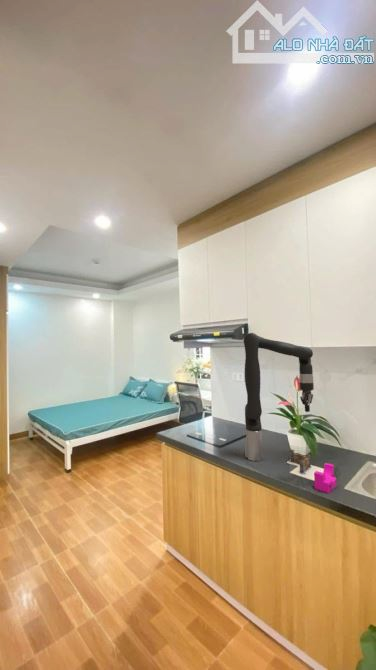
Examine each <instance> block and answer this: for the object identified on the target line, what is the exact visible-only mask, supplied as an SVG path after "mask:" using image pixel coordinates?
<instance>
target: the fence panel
mask: <svg viewBox="0 0 376 670" xmlns="http://www.w3.org/2000/svg"><path fill="white" fill-rule="evenodd" d="M308 468H309V458H305V459H304V460H300V472H301V473H304V471H305V470H307V469H308Z"/></svg>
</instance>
